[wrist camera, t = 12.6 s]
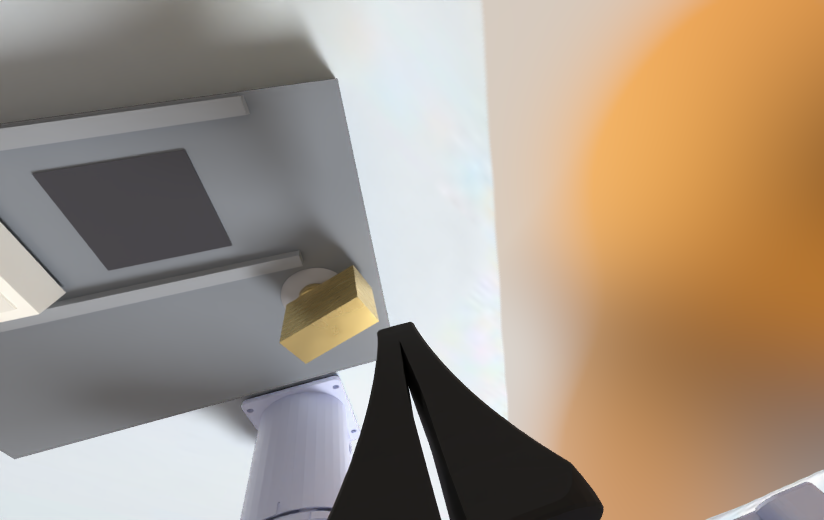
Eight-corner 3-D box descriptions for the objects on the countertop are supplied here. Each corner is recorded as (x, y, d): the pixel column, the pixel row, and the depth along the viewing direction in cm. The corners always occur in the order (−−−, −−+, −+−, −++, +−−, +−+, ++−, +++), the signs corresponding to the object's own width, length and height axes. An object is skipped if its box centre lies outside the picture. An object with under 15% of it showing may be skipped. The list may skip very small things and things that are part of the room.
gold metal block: (309, 317, 19) (305, 363, 16) (287, 296, 18) (279, 342, 15) (370, 281, 19) (378, 321, 16) (352, 258, 18) (357, 296, 14)
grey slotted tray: (390, 332, 25) (398, 365, 22) (45, 421, 21) (0, 476, 18) (335, 78, 15) (337, 78, 12) (-306, 165, 12) (-516, 193, 9)
